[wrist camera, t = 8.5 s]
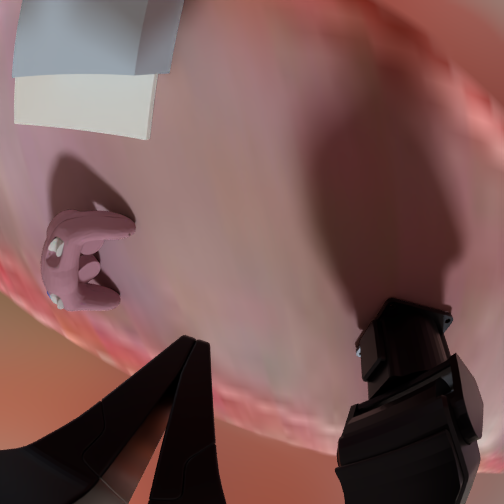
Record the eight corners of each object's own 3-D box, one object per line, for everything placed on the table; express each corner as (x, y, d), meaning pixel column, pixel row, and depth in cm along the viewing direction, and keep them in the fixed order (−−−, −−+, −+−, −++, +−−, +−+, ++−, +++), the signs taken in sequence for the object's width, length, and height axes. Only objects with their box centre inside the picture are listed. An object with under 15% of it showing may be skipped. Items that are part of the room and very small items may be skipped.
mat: (196, -81, 10) (193, -84, 10) (149, 138, 19) (146, 139, 18) (43, -47, 11) (39, -48, 10) (18, 122, 19) (14, 123, 19)
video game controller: (113, 190, 23) (34, 207, 18) (143, 223, 22) (56, 248, 16) (99, 275, 29) (38, 298, 23) (123, 308, 27) (60, 337, 22)
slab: (162, -52, 8) (27, -21, 9) (134, 75, 12) (11, 77, 13) (194, -31, 12) (68, -16, 12) (171, 73, 16) (54, 70, 16)
